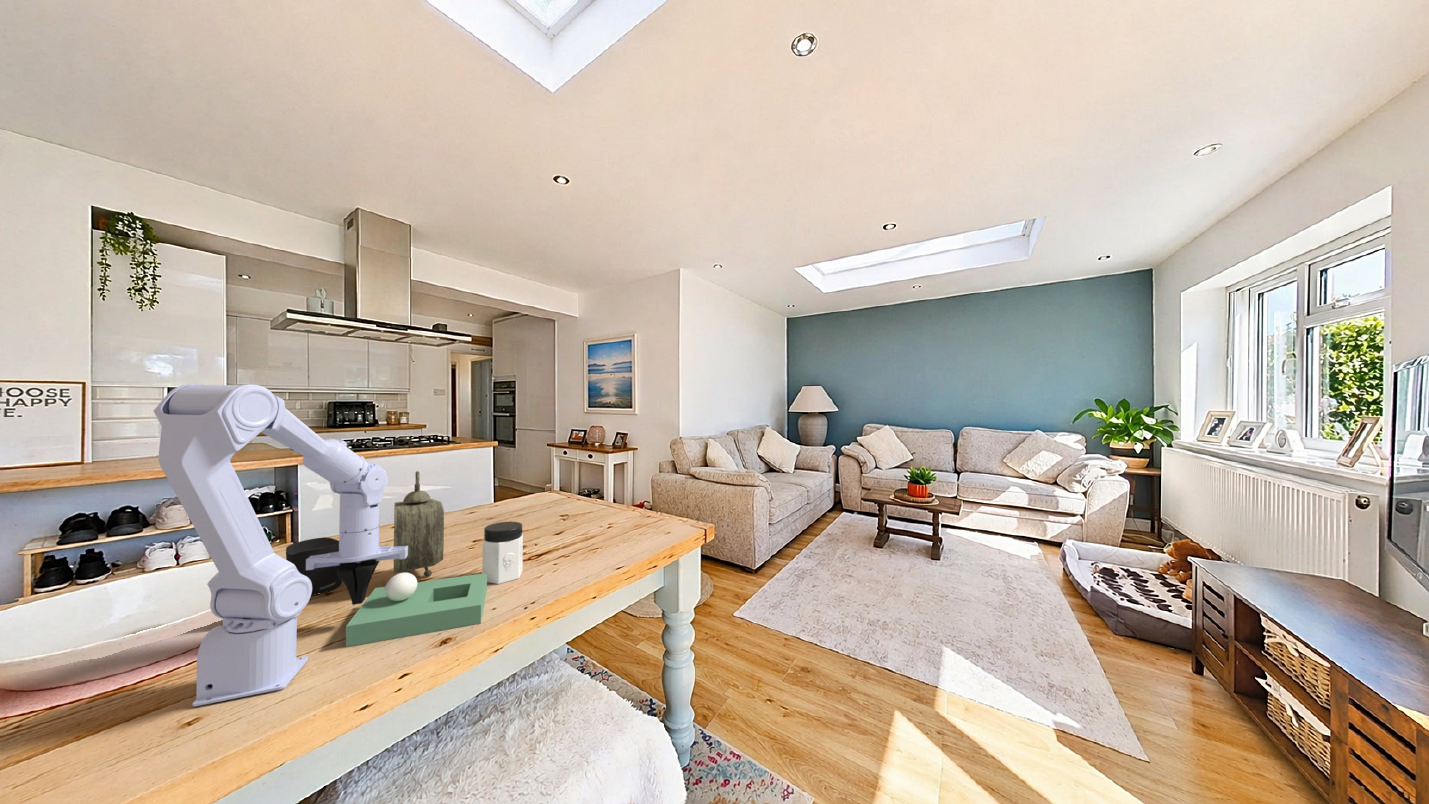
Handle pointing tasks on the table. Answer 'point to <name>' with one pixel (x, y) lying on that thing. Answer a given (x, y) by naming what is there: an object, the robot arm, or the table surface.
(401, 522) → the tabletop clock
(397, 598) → the white egg
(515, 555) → the jar
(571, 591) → the table surface
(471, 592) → the putting box
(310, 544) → the pen holder
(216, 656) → the robot arm
